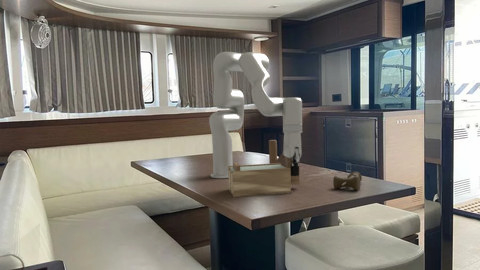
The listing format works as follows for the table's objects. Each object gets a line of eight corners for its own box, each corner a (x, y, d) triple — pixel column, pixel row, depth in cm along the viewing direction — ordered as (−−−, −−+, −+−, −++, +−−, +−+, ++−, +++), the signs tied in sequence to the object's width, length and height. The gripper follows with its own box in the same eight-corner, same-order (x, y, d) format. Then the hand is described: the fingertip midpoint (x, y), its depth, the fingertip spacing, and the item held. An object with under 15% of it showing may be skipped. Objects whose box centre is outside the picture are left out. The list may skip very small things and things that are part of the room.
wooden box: (228, 189, 150) (228, 166, 149) (281, 185, 153) (280, 162, 153) (233, 197, 136) (232, 171, 136) (291, 193, 140) (290, 168, 139)
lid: (230, 169, 148) (230, 162, 148) (280, 166, 151) (279, 159, 151) (234, 174, 137) (233, 166, 137) (287, 170, 140) (287, 163, 140)
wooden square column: (285, 182, 149) (285, 153, 148) (297, 182, 150) (296, 152, 149) (289, 185, 145) (288, 155, 144) (300, 184, 145) (300, 154, 144)
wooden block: (285, 182, 159) (284, 141, 158) (267, 179, 167) (266, 140, 166) (291, 181, 162) (290, 140, 160) (273, 178, 170) (272, 139, 169)
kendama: (368, 185, 152) (355, 194, 135) (344, 183, 157) (329, 192, 140) (367, 170, 152) (354, 177, 135) (344, 169, 157) (329, 176, 140)
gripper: (278, 127, 153) (278, 171, 155) (289, 130, 137) (289, 179, 138) (295, 127, 154) (295, 170, 156) (308, 130, 138) (309, 178, 139)
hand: (293, 174), depth 147 cm, fingers closed on wooden square column, 4 cm apart
